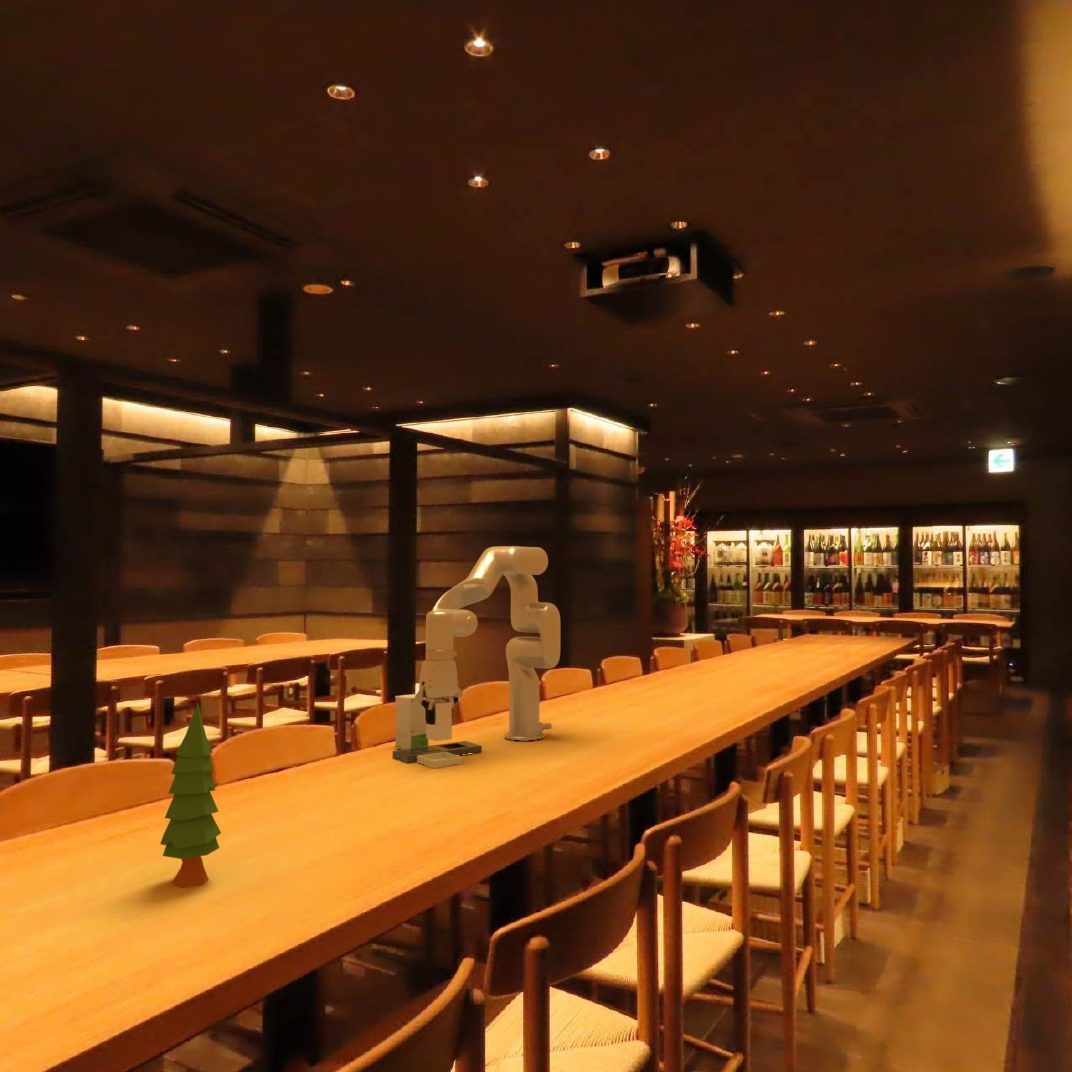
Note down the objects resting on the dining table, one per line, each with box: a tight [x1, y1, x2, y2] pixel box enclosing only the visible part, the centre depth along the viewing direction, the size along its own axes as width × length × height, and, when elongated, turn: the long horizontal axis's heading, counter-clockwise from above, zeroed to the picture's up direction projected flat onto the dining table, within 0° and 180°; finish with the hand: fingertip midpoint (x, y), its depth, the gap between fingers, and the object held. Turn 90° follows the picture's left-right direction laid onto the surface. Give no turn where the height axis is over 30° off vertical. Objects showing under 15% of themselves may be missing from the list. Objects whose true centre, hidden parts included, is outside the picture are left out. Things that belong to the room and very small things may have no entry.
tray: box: [416, 752, 463, 769], centre depth 244 cm, size 9×9×2 cm
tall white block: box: [426, 699, 453, 742], centre depth 244 cm, size 5×5×10 cm
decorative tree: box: [159, 703, 222, 888], centre depth 152 cm, size 10×9×30 cm
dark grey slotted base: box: [392, 740, 483, 764], centre depth 255 cm, size 24×9×2 cm, turn 126°
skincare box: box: [394, 693, 429, 750], centre depth 265 cm, size 8×7×16 cm
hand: (439, 722), depth 244 cm, fingers closed on tall white block, 5 cm apart
